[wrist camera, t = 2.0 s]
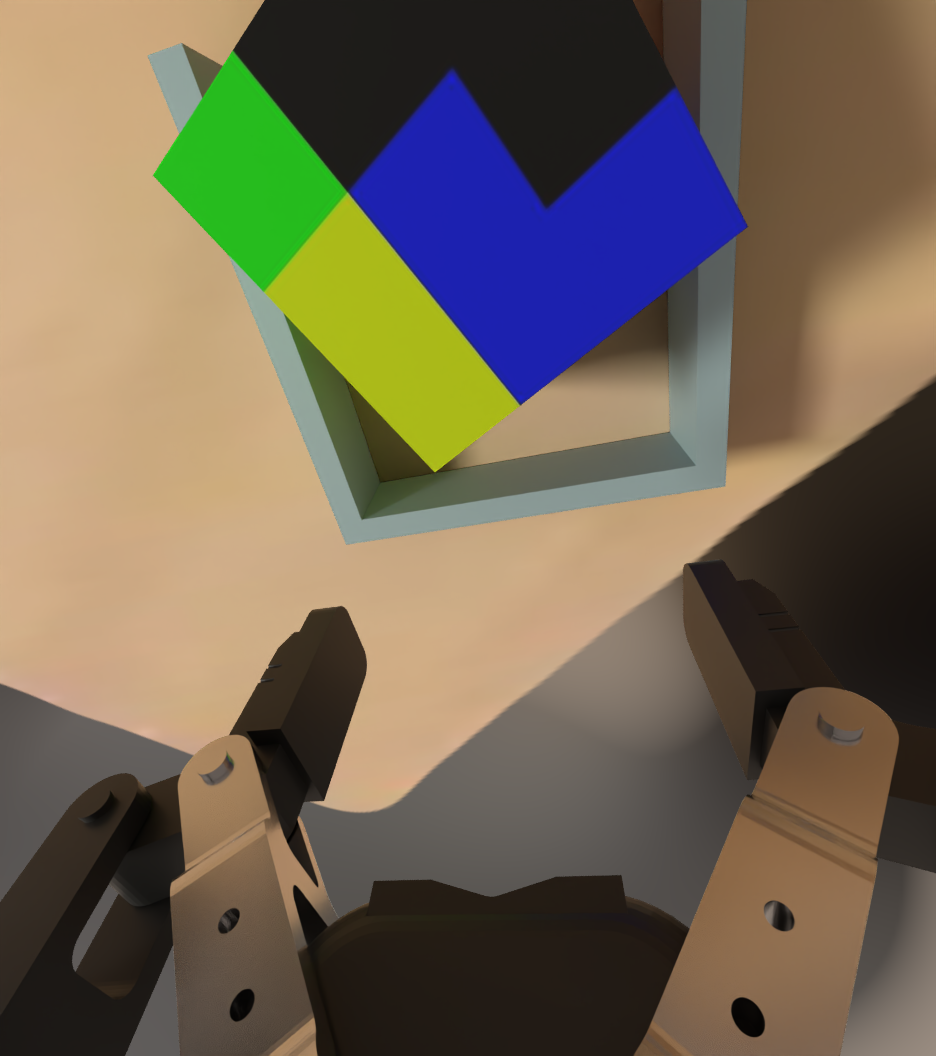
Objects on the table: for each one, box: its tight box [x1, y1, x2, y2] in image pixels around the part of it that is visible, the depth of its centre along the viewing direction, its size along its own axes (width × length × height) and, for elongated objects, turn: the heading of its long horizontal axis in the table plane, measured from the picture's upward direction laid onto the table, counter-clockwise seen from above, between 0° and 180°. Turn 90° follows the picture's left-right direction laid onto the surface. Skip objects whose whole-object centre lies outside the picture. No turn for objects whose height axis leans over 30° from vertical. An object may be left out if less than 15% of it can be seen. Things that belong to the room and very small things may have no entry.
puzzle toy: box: [153, 0, 748, 472], centre depth 16 cm, size 10×10×10 cm
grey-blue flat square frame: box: [148, 0, 747, 545], centre depth 20 cm, size 18×17×4 cm
